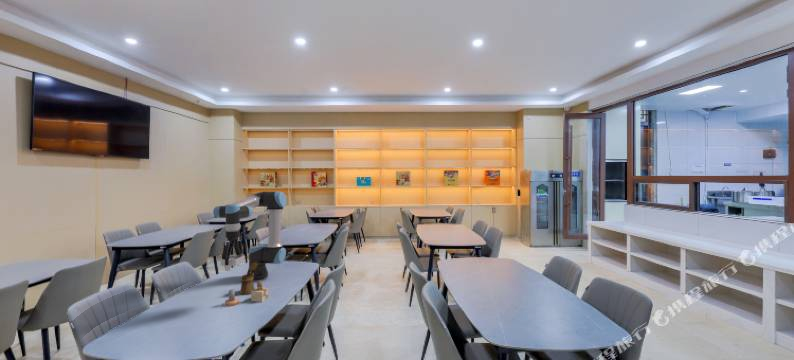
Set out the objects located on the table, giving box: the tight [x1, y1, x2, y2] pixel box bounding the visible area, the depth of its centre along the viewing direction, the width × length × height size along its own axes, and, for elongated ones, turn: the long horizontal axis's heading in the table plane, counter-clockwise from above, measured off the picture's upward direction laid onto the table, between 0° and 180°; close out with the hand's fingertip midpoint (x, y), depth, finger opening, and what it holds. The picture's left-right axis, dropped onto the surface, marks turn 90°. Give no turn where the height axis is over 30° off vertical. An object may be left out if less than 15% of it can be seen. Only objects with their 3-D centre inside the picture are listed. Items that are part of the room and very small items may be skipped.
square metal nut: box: [220, 254, 246, 267], centre depth 182 cm, size 9×9×4 cm
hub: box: [224, 288, 240, 307], centre depth 182 cm, size 7×7×8 cm
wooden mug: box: [239, 262, 258, 296], centre depth 202 cm, size 9×14×18 cm, turn 170°
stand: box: [250, 280, 269, 303], centre depth 189 cm, size 7×7×11 cm
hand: (232, 267), depth 182 cm, fingers closed on square metal nut, 9 cm apart
